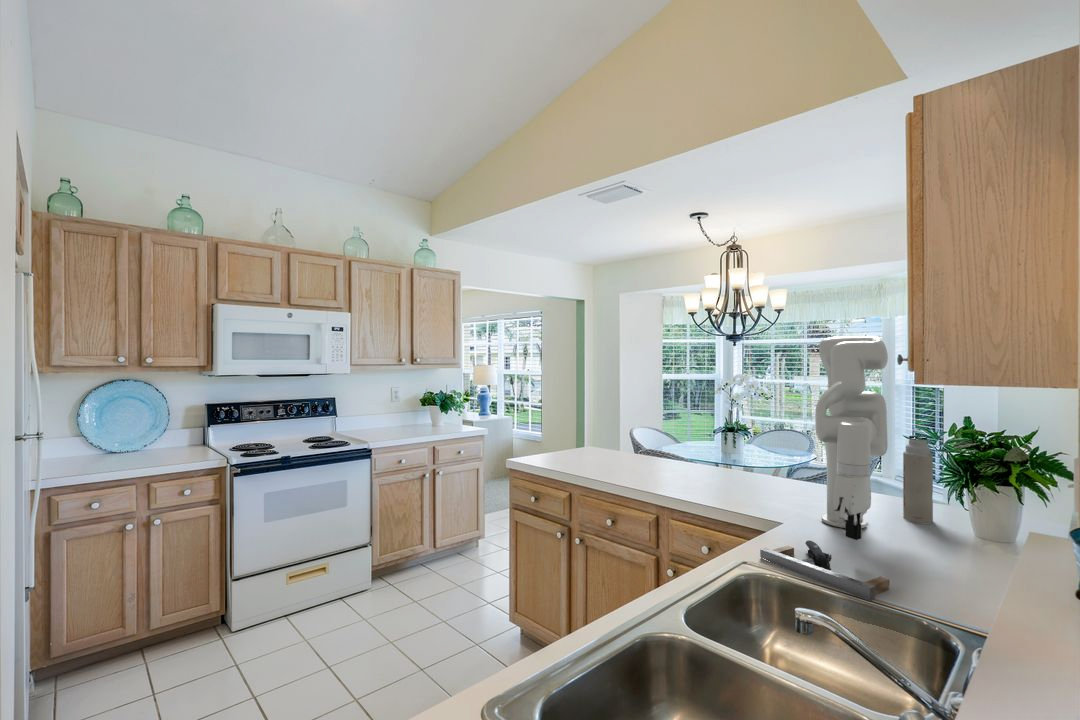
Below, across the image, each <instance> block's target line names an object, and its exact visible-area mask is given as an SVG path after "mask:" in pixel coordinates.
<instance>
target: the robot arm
mask: <svg viewBox="0 0 1080 720" xmlns="http://www.w3.org/2000/svg"><path fill="white" fill-rule="evenodd" d="M886 346H887V345H886V344H885V342H884V341H883V340H882V338H880V337H879V336H874V335H872V336H871V335H865V336H863V335H862V336H861V335H860V336H848V335H847V336H832V337H827V338H824V339H822V340H821V341H820V342H819V345H818V352H819V358H820V360H821V363H822V366H823V368H824V370H825V373H826V376H827V390H825V391H824V392H823V393H822V394H821V396H820V397H819V399H818V401H817V403H816V405H815V406H816V407H815V413H814V415H815V416H814V418H815V433H816V437H817V438H818V440H819V441H821V442H822V443H824V450H825V457H826V514H823V515H822V516H821V521H822V522H823V523H824V524H827V525H829V526H832V527H838V528H842V529H843V528H844V529H845V537H846V538H848V539H852V540H855V541H858V540H861V539H862V529H864V528H866V527H867V525H868V524H867V521H866V520H865V519H864V515H865V514H867V513H868V511H869V510H870V508H871V506H872V489H871V478H870V477H871V457H884V456H885V455H886V454H887V450H888V421H887V419H888V418H887V417H888V415H887V414H888V413H887V412H888V411H887V403H886V399H885V397H884V396H883V395H882V394H881V393H880V392H877V391H865V389H866V378H865V370H875V371H877V370H883V369H884V368H886V367H887V364H888V358H889V355H888V349H887V347H886ZM827 410H828V412H829V413H828V414H829V415H827Z"/></svg>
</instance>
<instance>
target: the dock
mask: <svg viewBox="0 0 1080 720" xmlns="http://www.w3.org/2000/svg"><path fill="white" fill-rule="evenodd" d="M759 549H760V553H759V554H760V557H761V558H764V559H766V560H768V561H770V562H772V563H771V564H773V563H774V564H773V565H775V564H777V565H776V566H778V565H779V566H778V567H780V566H781V568H783V567H784V568H783V569H786V570H788V569H789V570H788V571H791V572H793V573H796V574H798V575H801V576H804V577H806V578H809V579H811V580H814V581H817V582H819V583H822V584H824V585H827V586H829V587H832V588H835V589H836V590H837V589H838V590H839V591H842V592H845V593H847V594H850V595H853V596H856V597H858V598H860V599H863V600H866V601H868V602H871V601H875V600H876V596H877V595H880V594H882V593H885V592H887V591H889V590H890V579H889V578H887V577H883V576H877V577H874V578H873V579H870V580H867V581H865V582H863V581H861V580H858V579H855V578H852V577H849V576H846V575H844V574H841V573H838V572H836V571H832V570H831V571H830V570H827V569H824V568H821V567H818V566H815V565H813V564H810V563H807V562H804V561H802V560H800V559H797V558H795V557H793V556H791V555H794V556H795V548H794V547H793V546H790V545H785V546H781V547H777V548H775V549H769V548H767V547H763V548H759ZM790 556H791V557H790ZM768 561H767V562H768ZM770 562H769V563H770Z"/></svg>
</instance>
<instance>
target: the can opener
mask: <svg viewBox="0 0 1080 720" xmlns="http://www.w3.org/2000/svg"><path fill="white" fill-rule="evenodd" d="M805 545H806V547H807V548H808V550H807V551H808V553H807V556H808V557H809V558H806V559H802V560H801V561H804V562H807V563H810V564H813V565H815V566H818V567H821V568H824V569H827V570H830V571H832V568H831V563H830V562H831V561H832V559H833V557H832V554H830V553H826V552H824V551H822V549H821V547H820V546H819V545H818V543H816V542H814V541H813V540H806V541H805Z"/></svg>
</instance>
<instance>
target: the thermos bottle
mask: <svg viewBox="0 0 1080 720" xmlns="http://www.w3.org/2000/svg"><path fill="white" fill-rule="evenodd" d="M914 437H926V438H922V439H924V440H916V439H911V438H914ZM908 438H909V439H908V444H906V445H905V447H904V448H905V450H904V451H903V452H902V466H903V467H902V468H903V469H902V471H903V472H902V474H903V475H902V479H903V480H902V481H903V482H902V483H903V487H902V491H903V492H902V493H903V494H902V497H903V498H902V501H903V503H902V506H903V507H902V508H903V513H902V514H903V519H904V521H905V520H906V521H908V522H912V523H917V524H922V525H923V524H924V525H929V524H930V525H931V524H933V523H934V500H933V491H934V490H933V489H934V485H933V483H934V478H933V477H934V475H933V474H934V470H933V469H934V462H933V458H934V456H933V453H931V447H930V446H928V441H927V440H928V437H927V436H923V435H909V436H908Z"/></svg>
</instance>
